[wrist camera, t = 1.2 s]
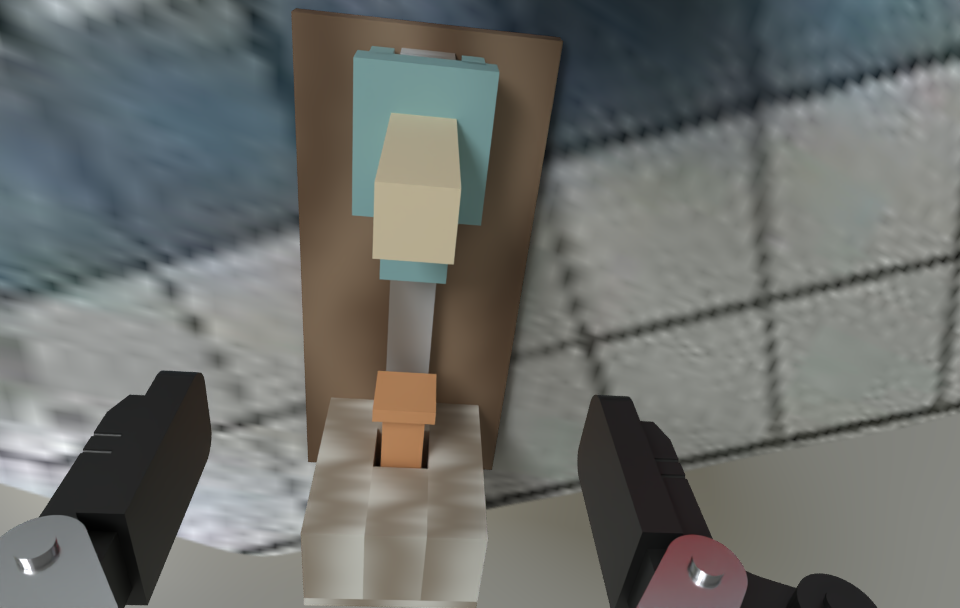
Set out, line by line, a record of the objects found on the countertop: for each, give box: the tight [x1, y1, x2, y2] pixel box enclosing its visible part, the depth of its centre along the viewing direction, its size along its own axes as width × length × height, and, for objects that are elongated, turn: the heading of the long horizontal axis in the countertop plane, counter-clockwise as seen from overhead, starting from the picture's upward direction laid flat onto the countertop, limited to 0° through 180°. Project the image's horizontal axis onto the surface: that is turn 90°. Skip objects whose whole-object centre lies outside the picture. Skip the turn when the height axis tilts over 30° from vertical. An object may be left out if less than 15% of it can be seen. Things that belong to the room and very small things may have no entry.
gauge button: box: [372, 371, 436, 469], centre depth 36 cm, size 3×6×3 cm, turn 174°
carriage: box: [352, 46, 499, 284], centre depth 27 cm, size 6×9×11 cm, turn 174°
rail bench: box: [291, 8, 563, 608], centre depth 32 cm, size 12×27×11 cm, turn 174°
